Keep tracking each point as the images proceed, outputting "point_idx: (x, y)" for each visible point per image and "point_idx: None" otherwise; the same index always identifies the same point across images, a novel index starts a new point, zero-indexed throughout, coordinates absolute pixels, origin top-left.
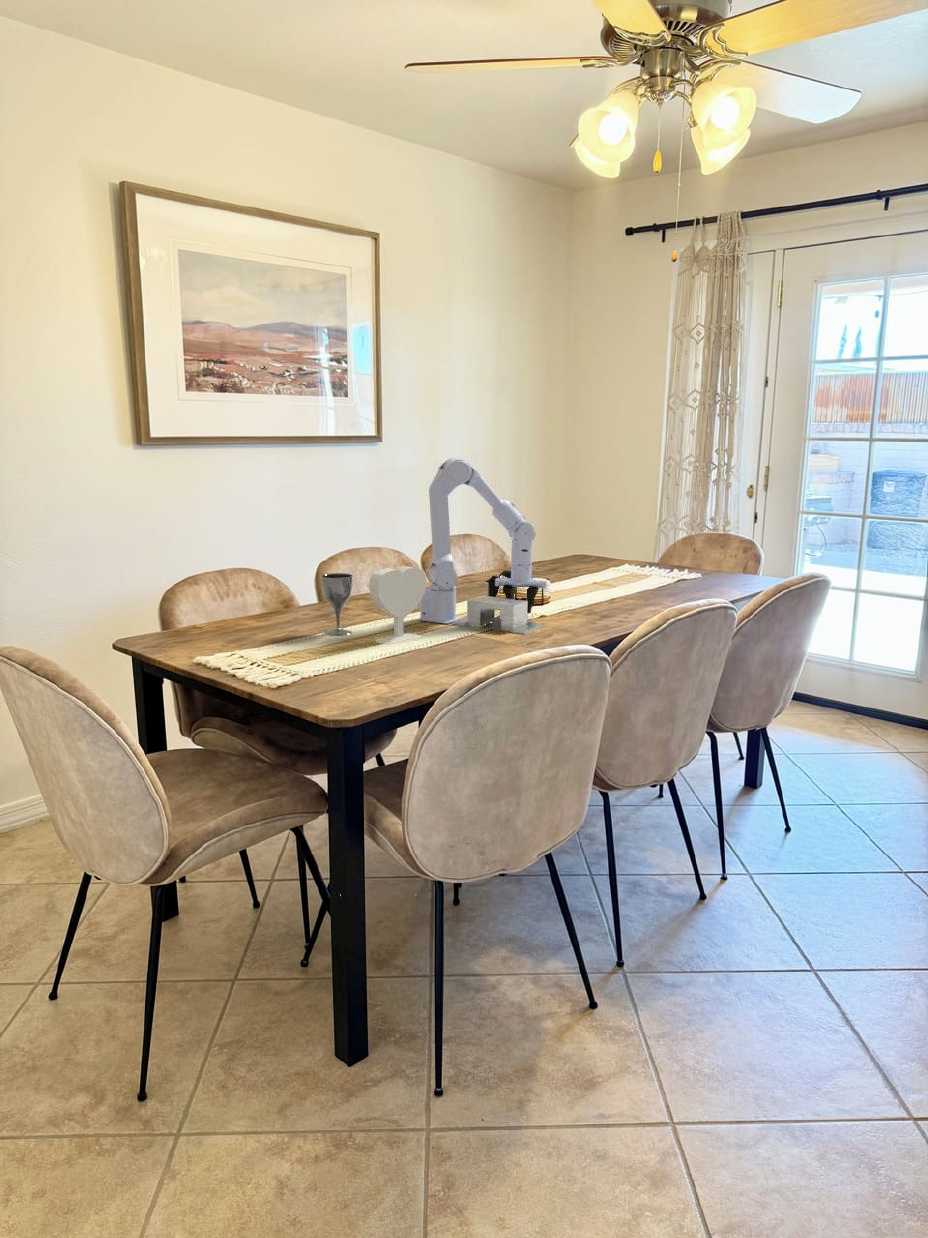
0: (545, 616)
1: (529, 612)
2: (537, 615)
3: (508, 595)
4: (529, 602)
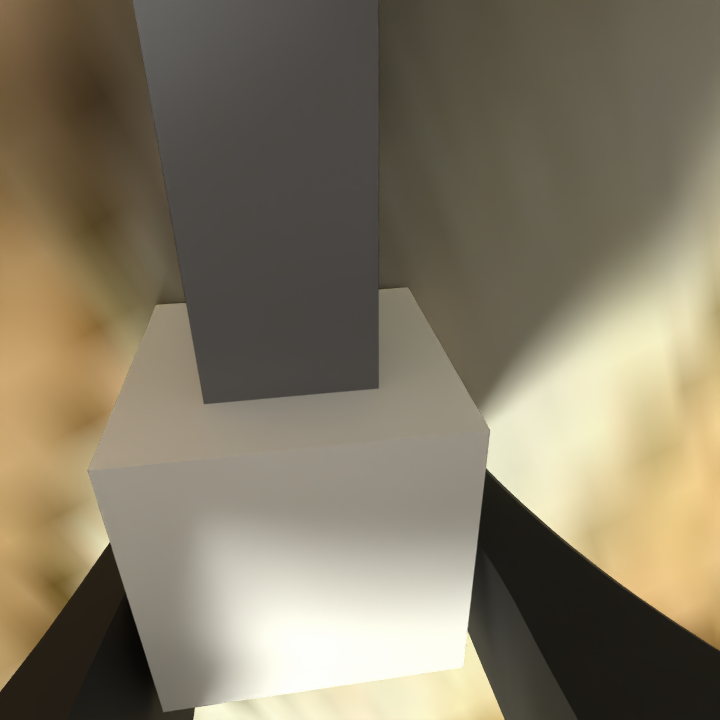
0: None
1: None
2: None
3: (683, 709)
4: (27, 701)
